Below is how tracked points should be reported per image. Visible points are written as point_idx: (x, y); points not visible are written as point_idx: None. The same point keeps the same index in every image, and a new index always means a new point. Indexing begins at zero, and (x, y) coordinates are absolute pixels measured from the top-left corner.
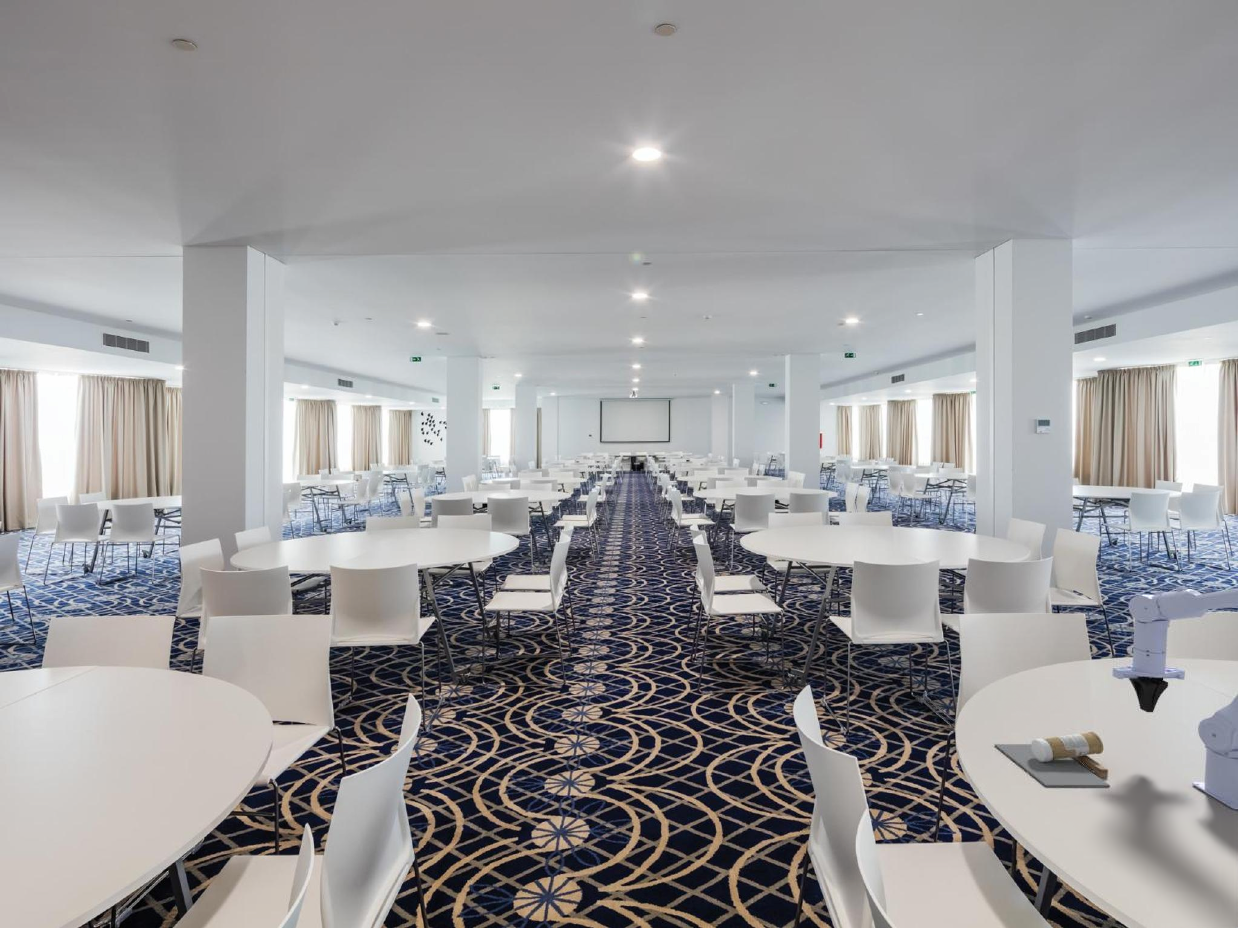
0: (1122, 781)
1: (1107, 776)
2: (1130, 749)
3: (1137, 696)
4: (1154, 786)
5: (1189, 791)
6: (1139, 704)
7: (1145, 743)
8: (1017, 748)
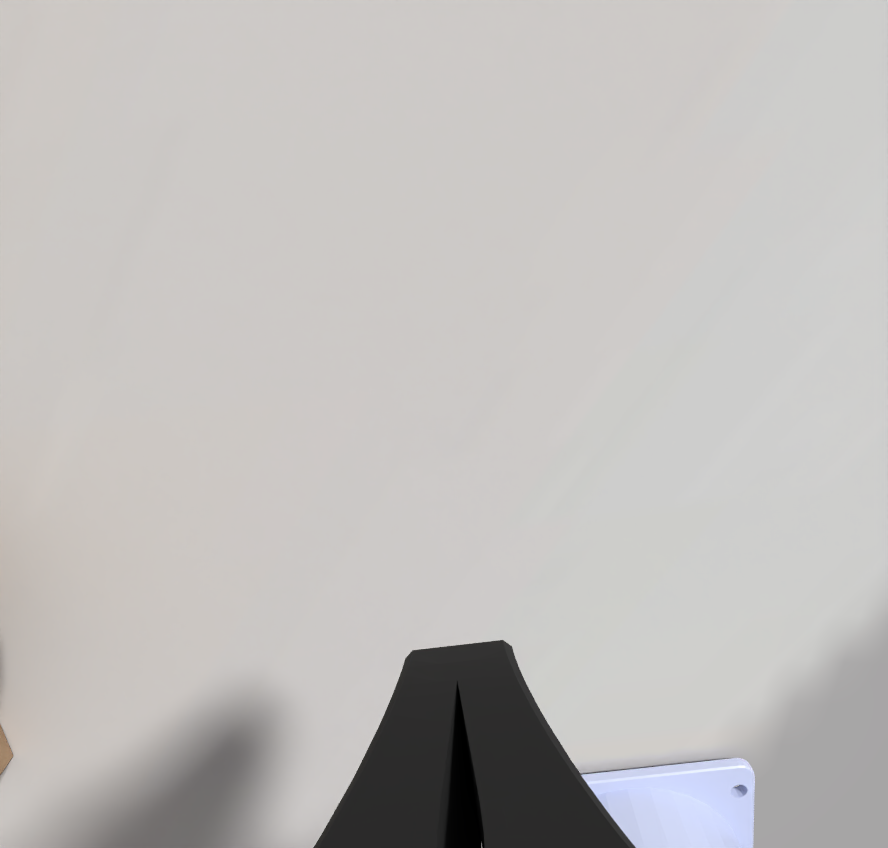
0: (86, 790)
1: (10, 758)
2: (420, 299)
3: (350, 789)
4: (254, 819)
5: None
6: (394, 691)
7: (653, 137)
8: None
